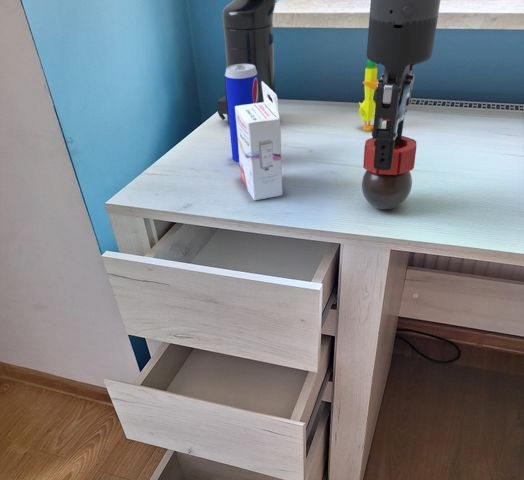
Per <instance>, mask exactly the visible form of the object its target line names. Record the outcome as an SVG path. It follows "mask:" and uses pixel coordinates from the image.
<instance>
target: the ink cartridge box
mask: <svg viewBox="0 0 524 480" xmlns="http://www.w3.org/2000/svg"><path fill="white" fill-rule="evenodd" d="M261 84H262V92H263V99H264V102H261V103H254V104H247V105H240V106H235V114H236V124H237V136H238V148H239V163H240V165H239V171H240V172H239V173H240V180H241V182H242V183H243V185H244V187H245V189H246V190H247V191H248V193H249V194H250V196H251V198H252V200H253V201H260V200H264V199H270V198H275V197H281V196H283V169H282V168H283V167H282V165H283V163H282V132H281V131H282V129H281V117H280V116H281V115H280V105H279V99H278V98H279V97H278V95H277V94H276V92H275V93H274V92H273V91H272V90H271V89H270V88H269V87H268V86H267V85H266V84H265V83H264V82H263V81H262V82H261ZM269 94H270V97H271V98H272V101H273V103H272V102H271V101H270V100H269V98H268V95H269Z"/></svg>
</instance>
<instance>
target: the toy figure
mask: <svg viewBox="0 0 524 480" xmlns="http://www.w3.org/2000/svg"><path fill="white" fill-rule="evenodd" d="M366 63H367V64H366V66H365V72H364V81H362V84H363V85H364V100H363V101H362V102H360V101H358V103H359V108H358V114H359V116H360V118H361V119H362V121H363V122H364V125H363V127H362V128H361V129H362V130H364V131H366V132H372V131H373V126H374V124H371V121H372V120H374V112H375V105H376V101H375V100H374V96H375V93H376V88H377V83H378V79H379V78H378V64H376V63H373V62H371V61H370V60H369V59H367V60H366Z"/></svg>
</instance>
